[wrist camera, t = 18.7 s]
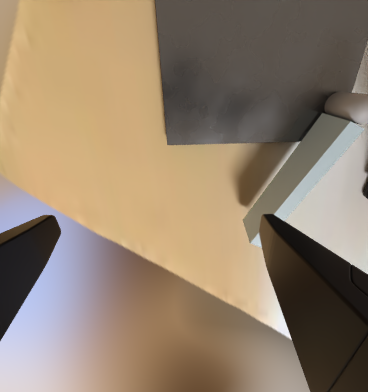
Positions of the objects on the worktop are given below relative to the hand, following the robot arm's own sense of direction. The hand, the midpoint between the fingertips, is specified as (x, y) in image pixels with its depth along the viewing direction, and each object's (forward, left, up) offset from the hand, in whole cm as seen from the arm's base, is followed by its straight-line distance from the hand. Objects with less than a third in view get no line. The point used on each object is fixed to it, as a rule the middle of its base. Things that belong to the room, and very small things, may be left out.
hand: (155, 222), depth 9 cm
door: (-10, +2, -12) cm, 16 cm away
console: (-6, -8, -13) cm, 17 cm away
